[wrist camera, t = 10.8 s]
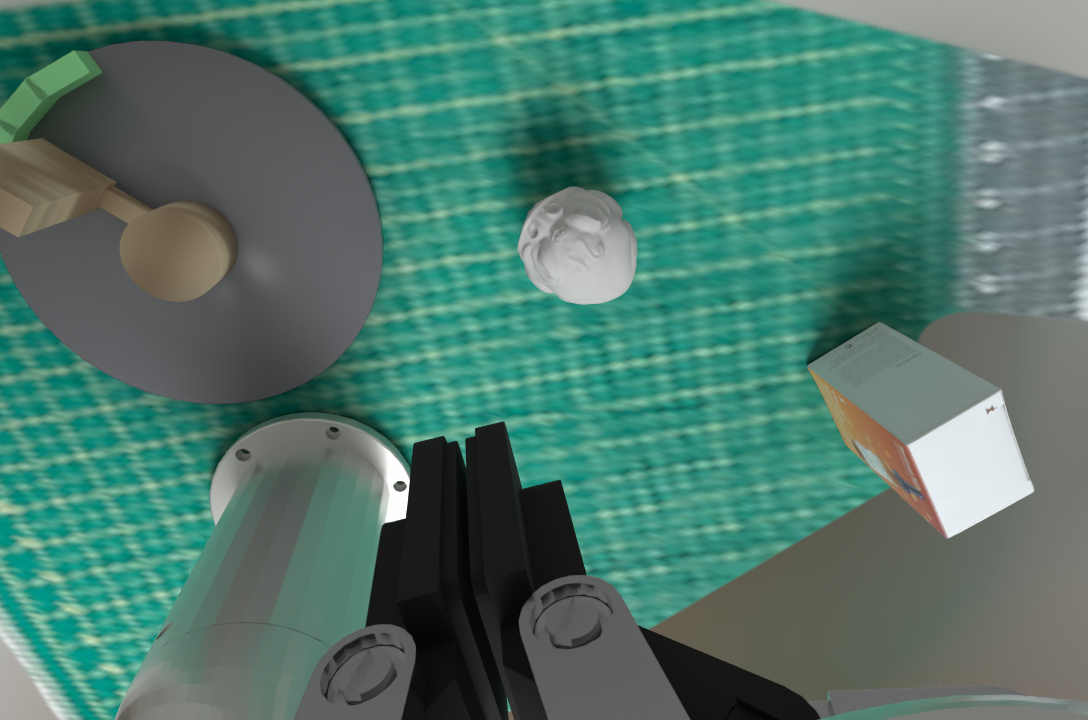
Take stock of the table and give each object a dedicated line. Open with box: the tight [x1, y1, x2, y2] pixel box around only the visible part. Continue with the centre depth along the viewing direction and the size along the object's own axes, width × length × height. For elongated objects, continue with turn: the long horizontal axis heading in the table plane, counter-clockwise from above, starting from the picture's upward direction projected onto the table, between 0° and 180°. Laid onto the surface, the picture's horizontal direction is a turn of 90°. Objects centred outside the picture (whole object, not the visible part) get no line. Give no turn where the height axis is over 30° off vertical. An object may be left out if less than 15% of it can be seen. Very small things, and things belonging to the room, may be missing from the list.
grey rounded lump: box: [518, 187, 637, 304], centre depth 35 cm, size 6×7×7 cm
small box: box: [807, 322, 1034, 538], centre depth 40 cm, size 8×6×10 cm
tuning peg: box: [0, 138, 238, 302], centre depth 30 cm, size 10×4×7 cm, turn 53°
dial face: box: [0, 41, 384, 404], centre depth 34 cm, size 19×19×2 cm
